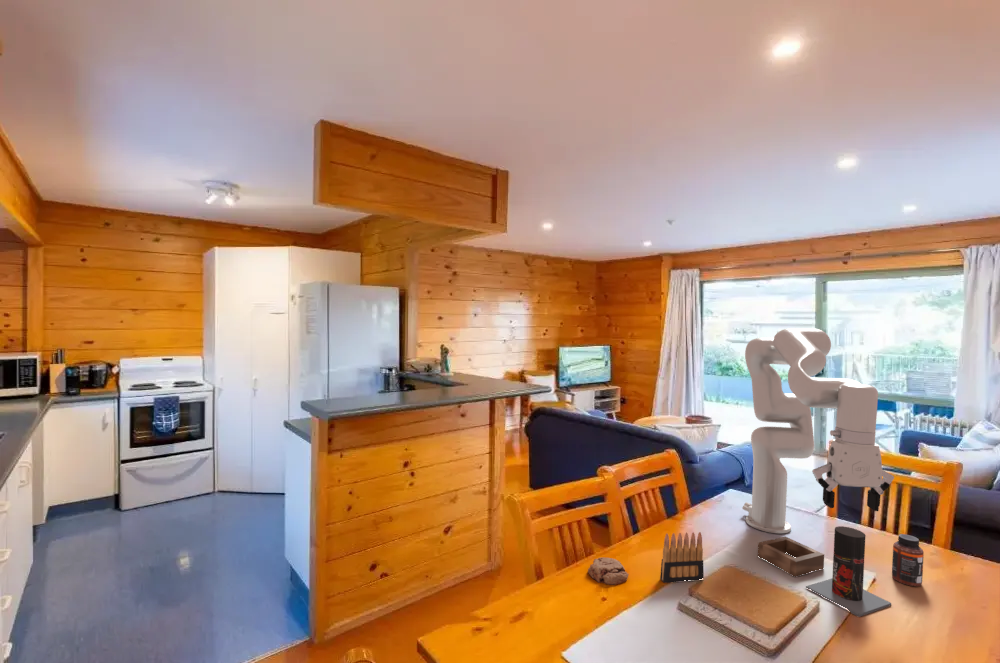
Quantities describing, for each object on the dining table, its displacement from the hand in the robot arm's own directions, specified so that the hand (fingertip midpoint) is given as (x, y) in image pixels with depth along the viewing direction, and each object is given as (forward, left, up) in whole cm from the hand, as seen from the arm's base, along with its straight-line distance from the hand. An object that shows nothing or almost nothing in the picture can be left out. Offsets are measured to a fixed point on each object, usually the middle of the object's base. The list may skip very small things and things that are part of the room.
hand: (850, 507), depth 115 cm
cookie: (-29, -48, -22) cm, 60 cm away
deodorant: (0, 0, -21) cm, 21 cm away
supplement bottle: (+1, +22, -22) cm, 31 cm away
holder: (-16, +2, -21) cm, 27 cm away
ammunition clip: (-20, -32, -22) cm, 44 cm away
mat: (0, 0, -21) cm, 21 cm away
